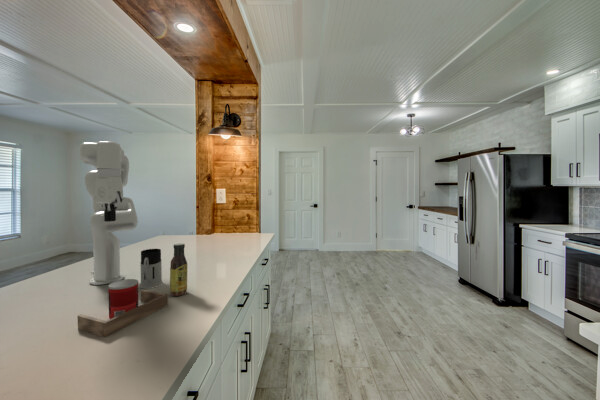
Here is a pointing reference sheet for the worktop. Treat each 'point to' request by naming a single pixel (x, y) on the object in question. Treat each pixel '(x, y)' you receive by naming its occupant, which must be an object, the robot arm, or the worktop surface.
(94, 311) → the worktop surface
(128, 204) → the robot arm
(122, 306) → the canned food
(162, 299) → the wooden corner frame
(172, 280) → the sauce bottle
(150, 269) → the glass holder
